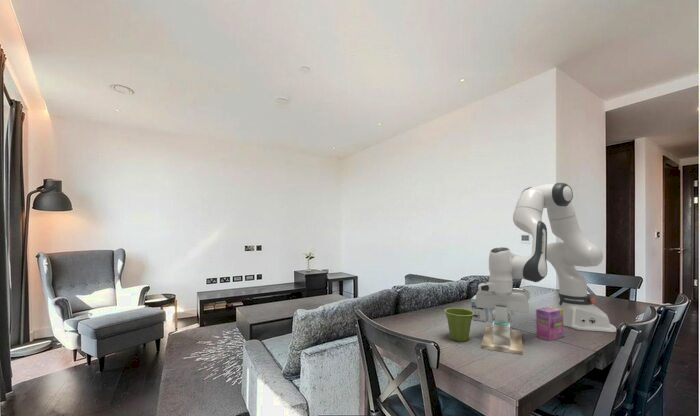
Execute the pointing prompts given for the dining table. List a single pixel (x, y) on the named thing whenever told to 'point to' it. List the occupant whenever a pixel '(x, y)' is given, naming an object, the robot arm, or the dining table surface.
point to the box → (549, 323)
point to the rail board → (513, 342)
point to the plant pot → (459, 323)
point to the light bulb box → (479, 312)
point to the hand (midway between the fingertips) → (501, 320)
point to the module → (501, 313)
